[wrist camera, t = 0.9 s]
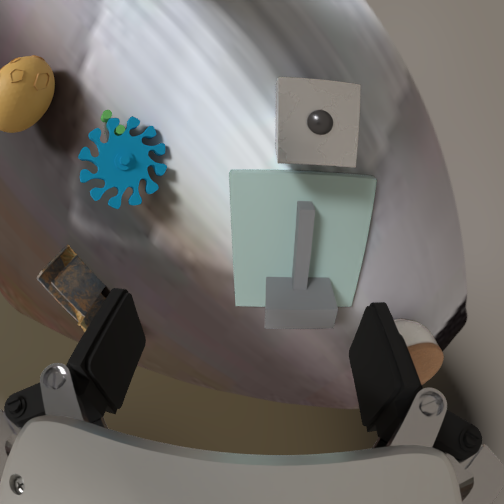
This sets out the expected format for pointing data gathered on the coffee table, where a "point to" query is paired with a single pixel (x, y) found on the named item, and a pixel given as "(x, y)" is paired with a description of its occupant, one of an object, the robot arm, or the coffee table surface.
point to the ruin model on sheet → (73, 286)
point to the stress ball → (24, 92)
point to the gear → (122, 160)
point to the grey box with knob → (317, 121)
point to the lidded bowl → (421, 348)
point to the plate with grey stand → (298, 242)
